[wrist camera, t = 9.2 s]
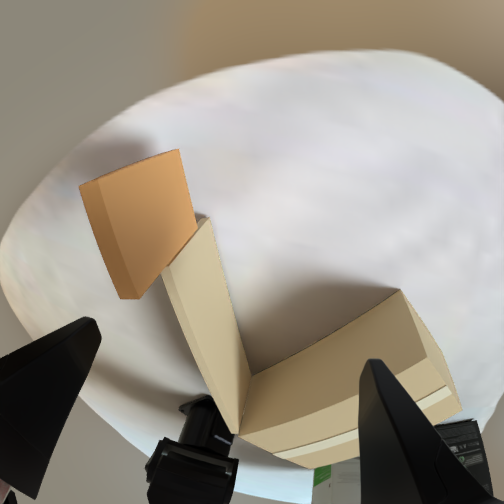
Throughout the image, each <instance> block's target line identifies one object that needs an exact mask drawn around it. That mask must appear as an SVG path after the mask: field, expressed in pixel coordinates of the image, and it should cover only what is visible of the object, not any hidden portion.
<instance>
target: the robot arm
mask: <svg viewBox="0 0 504 504" xmlns="http://www.w3.org/2000/svg"><path fill="white" fill-rule="evenodd" d="M101 340H102V337H101V333H100V331H99V328H98V326H97V323H96V321H95V319H93V318H90V317H86V316H85V317H82V318H80V319H78V320H76V321H74V322H72V323H70V324H68V325H66V326H64V327H62V328H60V329H58V330H55V331H53V332H51V333H49V334H47V335H45V336H43V337H41V338H39V339H37V340H35V341H33V342H31V343H30V344H27V345H25V346H23V347H21V348H20V349H17V350H16V351H14V352H12V353H10V354H9V355H6V356H4V357H2V358H0V504H17V500H16V496H15V493H14V492H13V491H12V490H11V488H12V487H14V488H15V489H17V490H19V491H20V492H22V493H24V494H25V495H27V496H29V497H31V498H32V499H34V500H35V499H36V498H37V495H38V492H39V489H40V486H41V483H42V480H43V477H44V475H45V472H46V469H47V466H48V464H49V461H50V458H51V456H52V453H53V451H54V448H55V446H56V443H57V441H58V438H59V436H60V434H61V431H62V429H63V427H64V424H65V422H66V420H67V418H68V416H69V413H70V411H71V409H72V407H73V405H74V403H75V400H76V398H77V396H78V394H79V392H80V390H81V388H82V386H83V384H84V382H85V380H86V378H87V376H88V373H89V371H90V368H91V366H92V363H93V361H94V358H95V355H96V353H97V350H98V348H99V346H100V343H101ZM179 411H180V412H182V413H184V414H185V415H187V419H186V421H185V424H184V427H183V429H182V432H181V434H180V437H179V440H178V442H175V441H172V440H170V439H169V438H166V437H164V439H163V440H159V442H158V445H157V447H156V449H155V451H154V453H153V455H152V456H151V458H150V459H149V461H148V462H147V464H146V465H145V470H146V472H147V480H146V481H147V482H148V483H150V486H149V489H148V492H147V497H148V501H149V504H229V503H230V500H231V497H232V494H233V490H234V486H235V480H236V474H237V469H238V463H239V459H236V458H234V459H233V458H229V457H228V455H229V451H230V447H231V445H232V444H233V440H234V436H235V434H231V432H230V430H229V428H228V426H227V424H226V422H225V421H224V419H223V417H222V415H221V413H220V411H219V409H218V407H217V405H216V403H215V401H214V399H213V398H212V397H210V396H205V397H202V398H200V399H197V400H195V401H193V402H190V403H187V404H185V405H182V406H180V407H179ZM242 418H243V417H242ZM241 423H242V421H241ZM240 426H241V425H240ZM358 436H359V453H360V481H361V504H504V501H501V500H499V499H497V498H495V497H494V496H492V495H491V494H490V493H489V492H488V491H487V490H486V489H485V488H484V487H483V486H482V485H481V484H480V483H479V482H478V481H477V479H476V478H475V477H474V476H473V475H472V474H471V473H470V472H469V471H468V470H467V469H466V467H465V466H464V465H463V464H462V463H461V462H460V460H459V459H458V458H457V457H456V455H455V454H454V453H453V452H452V450H451V449H450V448H449V446H448V445H447V444H446V442H445V441H444V440H443V439H442V437H441V436H440V434H439V433H438V432H437V430H436V429H435V428H434V426H433V425H432V424H431V422H430V421H429V420H428V418H427V417H426V416H425V414H424V413H423V412H422V410H421V409H420V408H419V406H418V405H417V404H416V403H415V401H414V400H413V399H412V397H411V396H410V395H409V394H408V392H407V391H406V390H405V388H404V387H403V386H402V385H401V383H400V382H399V381H398V379H397V378H396V377H395V376H394V374H393V373H392V372H391V371H390V369H389V368H388V367H387V366H386V364H385V363H384V362H383V361H382V360H381V359H378V358H370V359H368V360H367V361H366V363H365V366H364V368H363V370H362V373H361V375H360V379H359V409H358ZM226 472H227V473H226Z"/></svg>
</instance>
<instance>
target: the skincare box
mask: <svg viewBox="0 0 504 504" xmlns="http://www.w3.org/2000/svg"><path fill="white" fill-rule="evenodd" d="M311 504H361V481H360V456H357V457H354V458H351V459H347V460H344V461H341V462H337V463H333V464H329V465H326V466H322V467H317V468H314V476H313V490H312V502H311Z"/></svg>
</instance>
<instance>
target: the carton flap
mask: <svg viewBox="0 0 504 504" xmlns="http://www.w3.org/2000/svg"><path fill="white" fill-rule="evenodd" d="M79 190H80V193H81V196H82V200H83V203H84V206H85V209H86V212H87V216H88V219H89V222H90V225H91V227H92V230H93V233H94V236H95V239H96V241H97V244H98V247H99V250H100V252H101V255H102V257H103V260H104V262H105V265H106V267H107V270H108V272H109V275H110V277H111V279H112V282H113V284H114V286H115V289H116V291H117V293H118V295H119V298H120V299H140V298H141V297H142V296H143V294H144V293H145V292H146V291H147V289H148V288H149V287H150V285H151V284H152V283H153V282H154V280H155V279H156V278H157V277H158V276H159V274H160V273H161V276H162V279H163V282H164V284H165V287H166V290H167V292H168V295H169V298H170V300H171V303H172V306H173V308H174V311H175V313H176V316H177V318H178V321H179V323H180V326H181V328H182V330H183V333H184V335H185V338H186V340H187V342H188V345H189V347H190V349H191V352H192V354H193V356H194V358H195V361H196V363H197V365H198V367H199V369H200V372H201V374H202V376H203V378H204V380H205V382H206V384H207V386H208V389H209V391H210V393H211V395H212V397H213V399H214V401H215V403H216V405H217V407H218V409H219V411H220V413H221V415H222V417H223V419H224V421H225V422H226V424H227V426H228V428H229V430H230V432H231V434H239V429H240V425H241V421H242V417H243V413H244V408H245V404H246V400H247V395H248V391H249V386H250V382H251V378H252V375H251V372H250V369H249V365H248V362H247V358H246V355H245V351H244V347H243V344H242V340H241V337H240V333H239V329H238V326H237V322H236V319H235V315H234V311H233V307H232V304H231V300H230V296H229V292H228V288H227V285H226V281H225V277H224V273H223V269H222V265H221V261H220V257H219V253H218V249H217V245H216V241H215V237H214V233H213V229H212V225H211V221H210V217H208V218H201V219H200V220H199V222H198V223H196V219H195V215H194V211H193V207H192V203H191V199H190V195H189V190H188V186H187V182H186V178H185V174H184V169H183V165H182V161H181V156H180V152H179V149H175V150H171V151H168V152H164V153H161V154H158V155H155V156H152V157H149V158H146V159H144V160H141V161H138V162H135V163H133V164H130V165H127V166H125V167H122V168H120V169H117V170H115V171H112V172H110V173H107V174H105V175H103V176H100V177H98V178H96V179H93V180H91V181H89V182H86V183H84V184H82V185H80V186H79Z"/></svg>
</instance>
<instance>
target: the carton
mask: <svg viewBox="0 0 504 504" xmlns="http://www.w3.org/2000/svg"><path fill="white" fill-rule="evenodd" d="M370 358H378V359H381V360H382V361H383V362H384V363H385V364H386V366H387V367H388V368H389V369H390V371H391V372H392V373H393V374H394V376H395V377H396V378H397V379H398V381H399V382H400V383H401V385H402V386H403V387H404V388H405V390H406V391H407V392H408V394H409V395H410V396H411V397H412V399H413V400H414V401H415V403H416V404H417V405H418V406H419V408H420V409H421V410H422V412H423V413H424V414H425V416H426V417H427V418H428V420H429V421H430V422H431V424H432V425H433V426H434V425H436V424H438V423H440V422H442V421H444V420H446V419H447V418H449V417H451V416H453V415H455V414H456V413H458V412H460V411H462V407H461V403H460V400H459V397H458V394H457V391H456V388H455V385H454V382H453V380H452V377H451V374H450V371H449V369H448V366H447V363H446V361H445V358H444V356H443V353H442V351H441V350H440V348H439V346H438V345H437V343H436V342H435V340H434V338H433V337H432V335H431V334H430V332H429V331H428V329H427V327H426V326H425V324H424V323H423V321H422V320H421V318H420V317H419V315H418V314H417V312H416V311H415V309H414V308H413V307H412V305H411V304H410V302H409V301H408V299H407V298H406V296H405V295H404V294H403V292H402V291H401V289H400V290H399V291H397V292H396V293H394V294H393V295H392V296H390V297H389V298H387V299H386V300H384V301H383V302H381V303H380V304H378V305H377V306H375V307H374V308H372V309H371V310H369V311H368V312H366V313H365V314H363V315H361V316H360V317H358V318H357V319H355V320H353V321H352V322H350V323H349V324H347V325H345V326H344V327H342V328H340V329H339V330H337V331H335V332H334V333H332V334H330V335H329V336H327V337H325V338H323V339H322V340H320V341H318V342H317V343H315V344H313V345H311V346H309V347H308V348H306V349H304V350H302V351H300V352H298V353H297V354H295V355H293V356H291V357H289V358H287V359H285V360H283V361H281V362H279V363H278V364H276V365H274V366H272V367H270V368H268V369H266V370H264V371H262V372H260V373H257V374H255V375H253V376H252V379H251V384H250V388H249V392H248V397H247V401H246V406H245V410H244V414H243V418H242V423H241V427H240V431H239V435H238V437H240V438H242V439H244V440H246V441H248V442H250V443H252V444H254V445H256V446H258V447H260V448H262V449H264V450H266V451H268V452H270V453H272V454H273V455H275V456H277V457H279V458H282V459H286V460H288V461H291V462H293V463H296V464H298V465H301V466H303V467H306V468H308V469H313V468H317V467H322V466H326V465H329V464H333V463H337V462H341V461H344V460H347V459H351V458H354V457H357V456H360V453H359V436H358V409H359V379H360V375H361V373H362V370H363V368H364V366H365V363H366V361H367V360H368V359H370Z"/></svg>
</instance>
